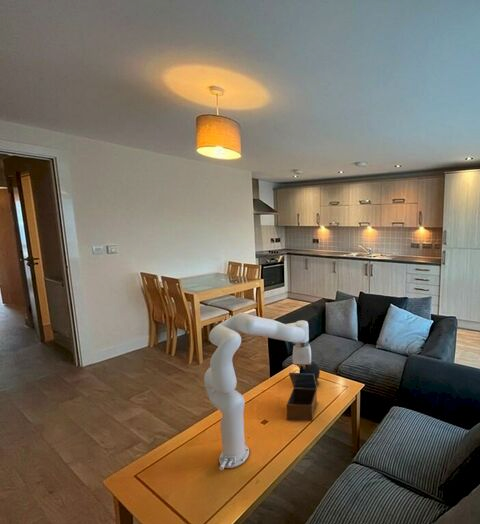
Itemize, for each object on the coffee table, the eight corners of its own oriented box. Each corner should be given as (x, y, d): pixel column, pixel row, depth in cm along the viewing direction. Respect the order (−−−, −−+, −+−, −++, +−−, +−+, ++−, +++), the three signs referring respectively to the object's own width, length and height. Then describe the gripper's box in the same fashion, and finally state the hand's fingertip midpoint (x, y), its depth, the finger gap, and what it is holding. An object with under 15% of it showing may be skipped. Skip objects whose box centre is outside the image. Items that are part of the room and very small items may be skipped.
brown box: (311, 420, 153) (311, 405, 151) (286, 419, 153) (286, 404, 152) (316, 402, 168) (316, 388, 167) (294, 401, 169) (293, 387, 167)
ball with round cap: (310, 392, 177) (310, 370, 175) (295, 385, 184) (294, 364, 182) (323, 382, 188) (323, 361, 186) (308, 376, 195) (308, 356, 193)
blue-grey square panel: (313, 374, 155) (313, 373, 156) (288, 373, 156) (289, 372, 157) (316, 388, 166) (316, 387, 167) (293, 387, 167) (293, 386, 168)
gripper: (286, 345, 154) (287, 377, 156) (314, 346, 153) (314, 378, 156) (290, 340, 161) (291, 370, 164) (316, 340, 160) (316, 371, 163)
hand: (302, 374), depth 160 cm, fingers closed
